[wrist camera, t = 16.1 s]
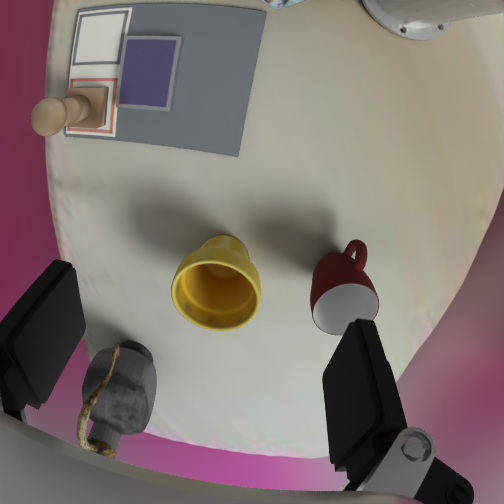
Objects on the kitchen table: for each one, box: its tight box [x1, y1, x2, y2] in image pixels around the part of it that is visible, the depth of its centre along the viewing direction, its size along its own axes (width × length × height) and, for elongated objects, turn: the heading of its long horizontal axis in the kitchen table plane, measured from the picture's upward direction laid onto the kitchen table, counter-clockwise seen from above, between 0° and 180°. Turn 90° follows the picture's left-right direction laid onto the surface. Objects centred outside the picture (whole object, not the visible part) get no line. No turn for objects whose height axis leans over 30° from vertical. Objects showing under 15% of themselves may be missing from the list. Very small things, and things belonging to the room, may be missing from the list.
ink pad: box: [116, 36, 185, 112], centre depth 31 cm, size 9×7×2 cm
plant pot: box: [171, 235, 261, 331], centre depth 40 cm, size 10×10×10 cm
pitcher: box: [77, 341, 157, 459], centre depth 43 cm, size 11×19×30 cm, turn 171°
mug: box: [310, 240, 379, 335], centre depth 39 cm, size 11×8×10 cm
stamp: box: [31, 87, 109, 136], centre depth 29 cm, size 5×5×11 cm
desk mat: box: [65, 3, 267, 157], centre depth 32 cm, size 18×24×1 cm
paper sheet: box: [66, 7, 132, 137], centre depth 31 cm, size 17×8×1 cm, turn 170°
